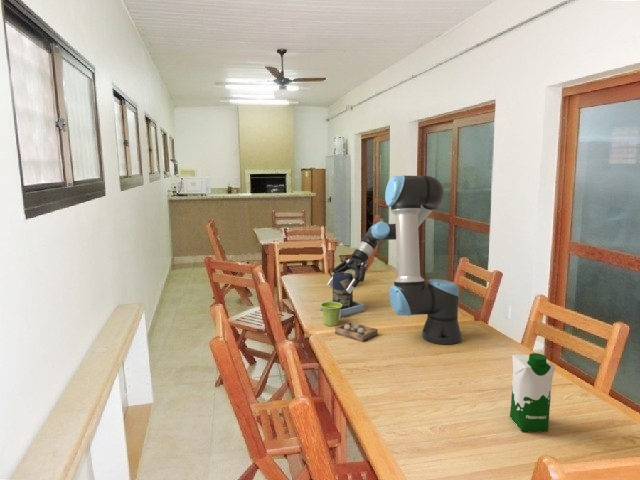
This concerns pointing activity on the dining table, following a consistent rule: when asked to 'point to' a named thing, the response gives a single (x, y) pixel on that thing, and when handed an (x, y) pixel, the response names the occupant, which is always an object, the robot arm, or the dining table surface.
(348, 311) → the slate dish
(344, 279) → the canister
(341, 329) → the pebble tray
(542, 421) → the milk carton
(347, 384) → the dining table surface
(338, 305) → the plant pot
